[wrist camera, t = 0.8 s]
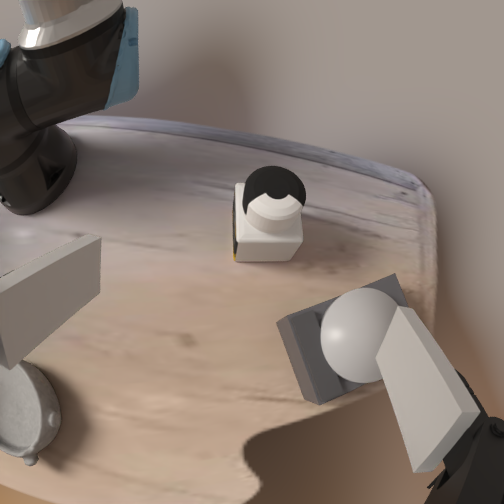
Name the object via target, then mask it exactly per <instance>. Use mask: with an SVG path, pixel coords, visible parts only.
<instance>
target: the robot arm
mask: <svg viewBox="0 0 504 504" xmlns="http://www.w3.org/2000/svg"><path fill="white" fill-rule="evenodd" d="M19 4H20V7H21V10H22V13H23V15H24V18H25V21H26V22H25V25H24V27H23V29H22V31H21V33H20V35H19V37H18V44H19V46H17V47H15V48H11V44H10V43H9V42H7V41H6V40H5V39H0V202H1V203H2V204H3V205H4V206H5V207H6V208H7V209H8V210H9V211H11V212H12V213H15V214H19V215H26V214H31V213H35V212H37V211H39V210H41V209H43V208H45V207H46V206H48V205H49V204H50V203H52V202H53V201H54V200H55V199H56V198H57V197H58V196H59V195H60V194H61V193H62V192H63V190H64V189H65V188H66V186H67V185H68V183H69V181H70V180H71V178H72V175H73V173H74V170H75V167H76V162H77V152H76V148H75V146H74V144H73V142H72V140H71V138H70V137H69V135H68V134H67V133H66V132H65V131H64V130H62V129H61V128H59V127H58V126H57V125H55V124H58V123H61V122H64V121H67V120H70V119H73V118H76V117H79V116H82V115H86V114H89V113H92V112H95V111H99V110H106V109H108V108H109V107H111V106H114V105H117V104H120V103H124V102H127V101H129V100H131V99H132V98H133V97H134V96H135V95H136V94H137V92H138V89H139V56H138V55H139V54H138V10H137V9H136V8H130V7H126V8H125V9H124V8H123V2H122V0H19ZM101 239H102V237H98V236H94V235H91V234H87V235H84V236H82V237H80V238H78V239H76V240H74V241H72V242H70V243H67V244H65V245H63V246H61V247H59V248H57V249H55V250H53V251H51V252H49V253H47V254H45V255H43V256H41V257H39V258H37V259H35V260H33V261H31V262H29V263H27V264H25V265H23V266H22V267H20V268H18V269H16V270H13V271H11V272H9V273H7V274H5V275H4V276H3V277H0V365H2V366H3V367H5V368H7V369H8V370H11V369H12V368H14V367H15V366H16V365H17V364H18V363H19V362H20V361H21V360H22V359H23V358H24V357H26V356H27V355H28V354H29V353H30V352H31V351H32V350H33V349H35V348H36V347H37V346H38V345H39V344H40V343H41V342H42V341H44V340H45V339H46V338H47V337H48V336H49V335H50V334H52V333H53V332H54V331H55V330H56V329H57V328H59V327H60V326H61V325H62V324H63V323H64V322H66V321H67V320H68V319H69V318H70V317H72V316H73V315H74V314H75V313H76V312H77V311H79V310H80V309H81V308H82V307H83V306H85V305H86V304H87V303H88V302H90V301H91V300H92V299H93V298H94V297H96V296H97V295H98V294H99V293H100V262H101ZM376 361H377V364H378V366H379V369H380V372H381V375H382V377H383V380H384V383H385V386H386V388H387V391H388V394H389V397H390V400H391V403H392V406H393V409H394V412H395V414H396V418H397V421H398V424H399V427H400V430H401V433H402V436H403V439H404V443H405V446H406V449H407V452H408V455H409V459H410V462H411V465H412V469H413V472H414V473H418V472H430V471H433V470H434V469H435V468H436V467H437V466H438V465H439V463H440V462H441V461H442V460H443V461H444V464H445V467H446V468H445V469H444V470H443V471H442V472H441V473H440V474H439V475H438V476H437V477H436V478H435V479H434V481H433V482H432V483H431V484H430V485H429V486H428V487H427V488H429V489H430V488H431V487H432V486H433V485H434V487H433V488H432V490H431V492H430V494H429V496H428V498H427V500H426V501H425V503H424V504H504V421H503V420H502V419H500V418H497V417H488V415H487V413H486V412H485V410H484V408H483V407H482V405H481V403H480V402H479V400H478V399H477V397H476V395H474V392H473V390H472V389H471V388H469V384H468V383H467V381H466V379H465V378H464V377H463V376H462V375H461V374H460V373H459V372H458V371H457V370H456V369H454V368H453V366H452V365H451V363H450V362H449V360H448V359H447V357H446V356H445V354H444V353H443V351H442V350H441V348H440V347H439V345H438V344H437V342H436V341H435V339H434V338H433V337H432V335H431V334H430V332H429V331H428V329H427V328H426V327H425V325H424V324H423V322H422V321H421V319H420V318H419V317H418V315H417V314H416V313H415V311H414V310H413V309H412V308H407V307H402V306H398V307H397V309H396V312H395V314H394V317H393V319H392V321H391V324H390V326H389V329H388V331H387V333H386V336H385V338H384V340H383V342H382V345H381V347H380V349H379V351H378V353H377V356H376Z"/></svg>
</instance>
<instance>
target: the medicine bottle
mask: <svg viewBox="0 0 504 504" xmlns="http://www.w3.org/2000/svg"><path fill="white" fill-rule="evenodd" d="M305 201H306V191H305V188H304V185H303V183H302V181H301V180H300V179H299V178H298V177H297V176H296V175H295V174H294V173H293V172H291V171H289V170H287V169H285V168H282V167H278V166H266V167H262V168H259V169H257V170H256V171H254V172H253V173H252V174H251V175H250V176H249V177H248V178H247V180H246V183H237V184H236V185H235V192H234V202H233V211H232V213H233V259H234V261H236V262H255V261H290V260H291V258H292V257H293V255H294V254H295V253H296V251H297V250H298V248H299V247H300V245H301V244H302V242H303V230H302V220H301V210H302V208H303V206H304V204H305Z"/></svg>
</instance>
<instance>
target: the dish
mask: <svg viewBox="0 0 504 504" xmlns="http://www.w3.org/2000/svg"><path fill="white" fill-rule="evenodd" d="M61 420H62V419H61V411H60V406H59V402H58V398H57V396H56V394H55V391H54V389H53V387H52V386H51V384H50V383H49V381H48V380H47V378H46V377H45V376H44V375H43V373H42V372H41V371H40V370H38V369H37V368H36V367H35V366H33V365H32V364H30V363H28V362H26V361H24V360H21V361H20V362H19V363H18V364H17V365H16V366H15V367H14V368H12V369H11V370H8V369H7V368H5V367H3V366H2V365H0V450H2V451H3V452H5V453H7V454H9V455H12V456H15V457H22V458H23V459H24V462H25V464H26V465H28V466H33V465H35V464H36V463H37V461H38V459H39V458H38V456H37V453H38V452H39V451H40V450H42V449H43V448H45V447H46V446H47V445H49V444H50V443H51V442H52V441H53V439H54V438H55V436H56V435H57V433H58V430H59V427H60V424H61Z"/></svg>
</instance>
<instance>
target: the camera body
mask: <svg viewBox="0 0 504 504" xmlns="http://www.w3.org/2000/svg"><path fill="white" fill-rule="evenodd" d="M398 306H402V307H407V308H409V307H408V305H407V302H406V299H405V297H404V294H403V292H402V289H401V287H400V284H399V282H398V279H397V277H396V274H395V273H394V274H392V275H390V276H387V277H385V278H383V279H380V280H378V281H375V282H373V283H371V284H368V285H366V286H363V287H361V288H358V289H354V290H351V291H349V292H347V293H345V294H343V295H341V296H338V297H336V298H333V299H330V300H328V301H325V302H323V303H320V304H317V305H315V306H312V307H309V308H307V309H304V310H301V311H298V312H296V313H293V314H290V315H287V316H286V317H284V318H283V319H281V320H279V321H278V322H276V323H277V326H278V329H279V331H280V334H281V337H282V340H283V342H284V345H285V348H286V351H287V353H288V356H289V359H290V362H291V364H292V367H293V370H294V372H295V375H296V378H297V381H298V383H299V386H300V389H301V392H302V394H303V397H304V399H305V400H307V401H310V402H312V403H315V404H317V405H322V404H324V403H326V402H328V401H331V400H333V399H335V398H337V397H339V396H341V395H344V394H346V393H348V392H350V391H352V390H354V389H356V388H358V387H360V386H362V385H364V384H366V383H371V382H375V381H378V380H381V379H383V377H382V375H381V372H380V369H379V366H378V364H377V361H376V356H377V353H378V351H379V349H380V347H381V345H382V342H383V340H384V338H385V336H386V333H387V331H388V329H389V326H390V324H391V321H392V319H393V317H394V314H395V312H396V309H397V307H398Z"/></svg>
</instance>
